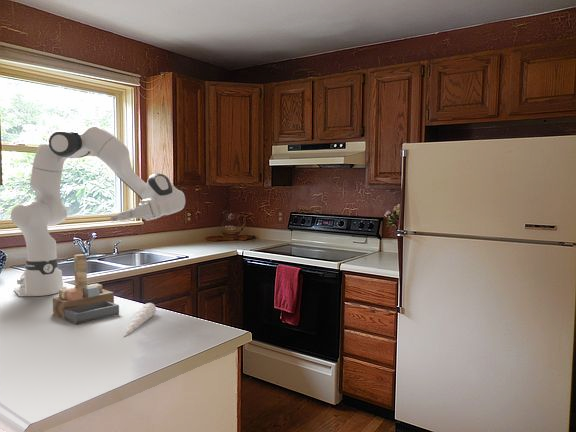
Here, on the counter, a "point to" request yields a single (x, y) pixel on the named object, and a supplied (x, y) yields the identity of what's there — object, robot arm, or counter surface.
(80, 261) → the wooden inverted t block
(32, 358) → the counter surface
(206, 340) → the counter surface
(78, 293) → the salmon orange block
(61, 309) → the wide wooden plinth
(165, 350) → the counter surface
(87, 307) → the bin
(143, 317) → the unicorn horn
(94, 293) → the pale blue-grey cube
